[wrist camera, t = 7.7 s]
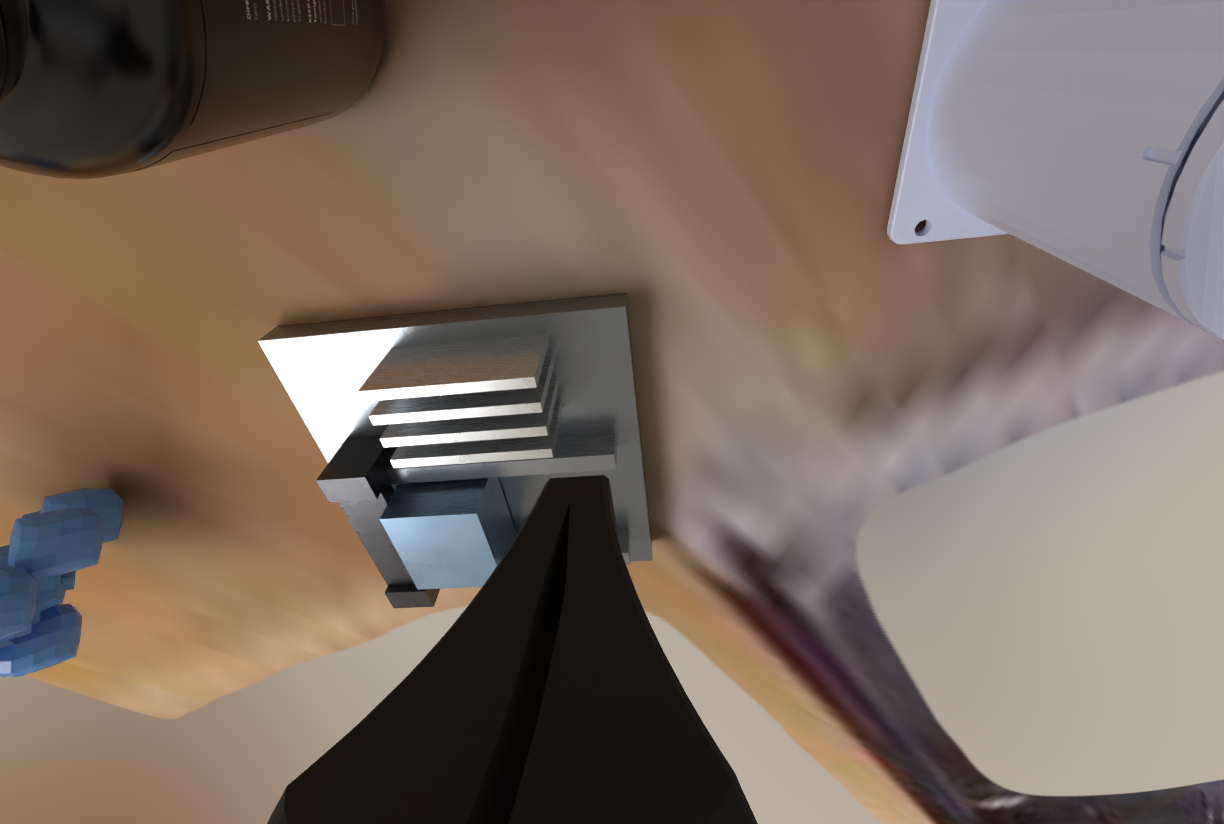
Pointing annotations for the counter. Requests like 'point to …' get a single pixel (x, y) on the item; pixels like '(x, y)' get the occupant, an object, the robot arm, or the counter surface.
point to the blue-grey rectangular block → (449, 530)
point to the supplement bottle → (172, 77)
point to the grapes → (50, 576)
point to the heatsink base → (469, 410)
